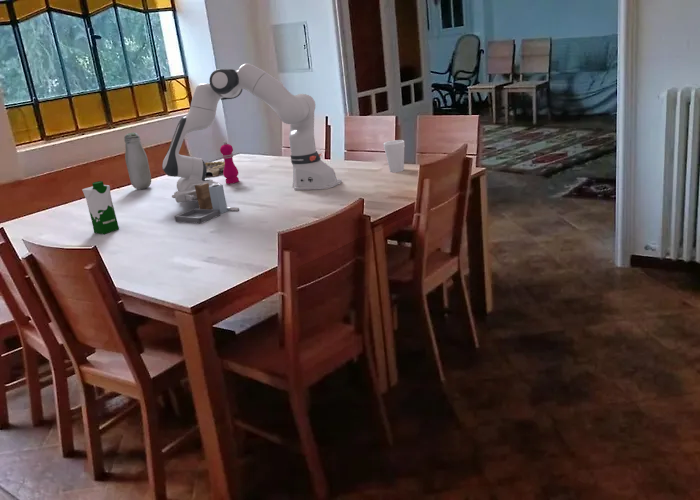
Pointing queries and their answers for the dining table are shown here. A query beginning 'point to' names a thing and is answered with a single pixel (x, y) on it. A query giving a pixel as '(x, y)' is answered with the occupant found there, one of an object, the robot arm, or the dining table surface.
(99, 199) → the milk carton
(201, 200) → the walnut block
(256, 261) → the dining table surface
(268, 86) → the robot arm
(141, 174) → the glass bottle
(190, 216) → the tray
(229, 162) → the pepper mill
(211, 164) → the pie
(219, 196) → the greyblue block
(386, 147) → the foam cup
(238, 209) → the pin gauge
